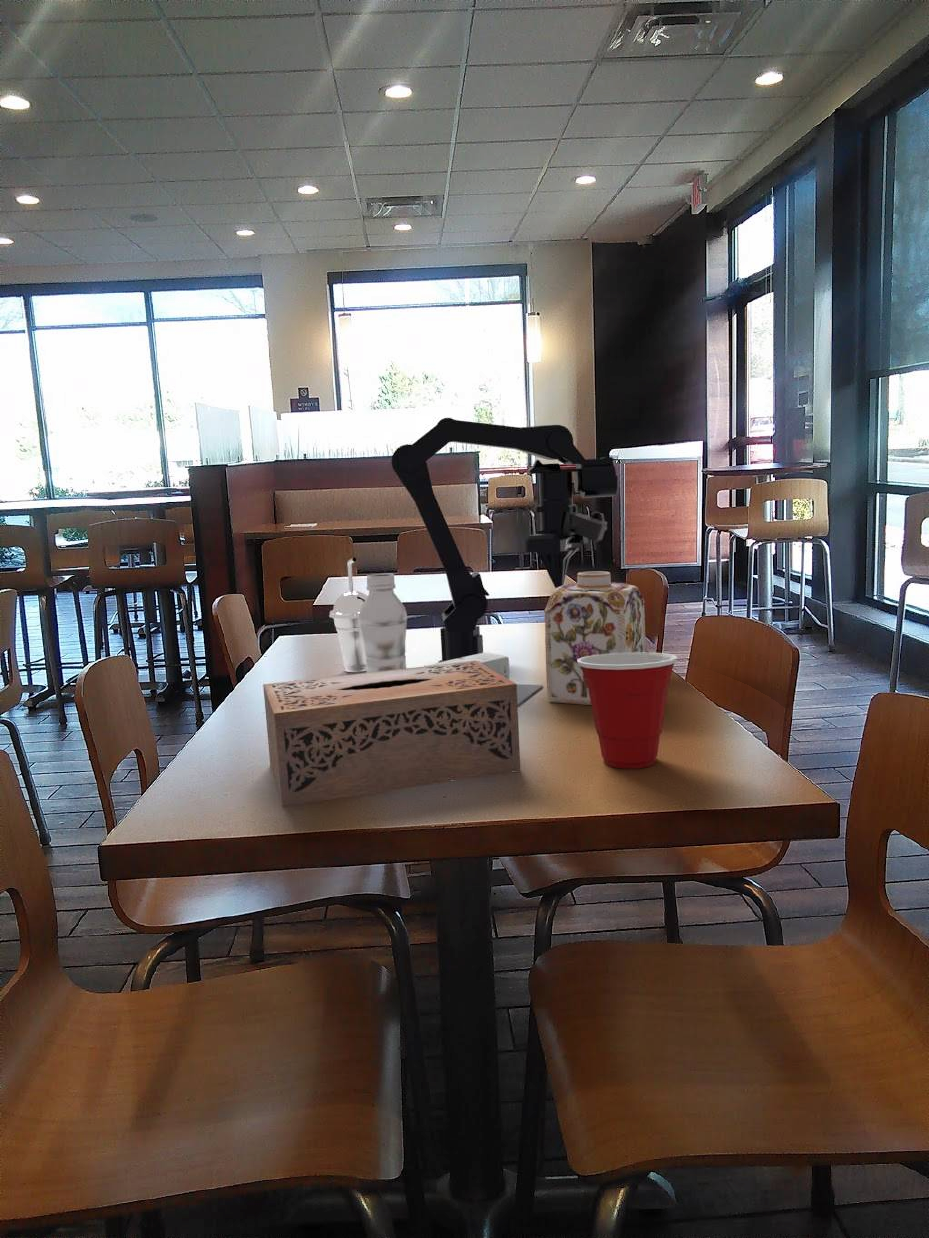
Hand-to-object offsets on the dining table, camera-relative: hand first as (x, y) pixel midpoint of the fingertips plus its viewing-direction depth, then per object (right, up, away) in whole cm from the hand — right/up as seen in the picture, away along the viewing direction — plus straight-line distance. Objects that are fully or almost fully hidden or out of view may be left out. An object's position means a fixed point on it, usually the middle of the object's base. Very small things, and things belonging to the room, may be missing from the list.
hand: (559, 588), depth 156 cm
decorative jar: (+3, -17, -28) cm, 33 cm away
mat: (-13, -17, -25) cm, 33 cm away
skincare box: (-11, -13, -16) cm, 24 cm away
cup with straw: (-35, -14, -1) cm, 38 cm away
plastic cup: (+2, -21, -57) cm, 61 cm away
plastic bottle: (-27, -20, -37) cm, 50 cm away
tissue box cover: (-25, -23, -56) cm, 65 cm away
